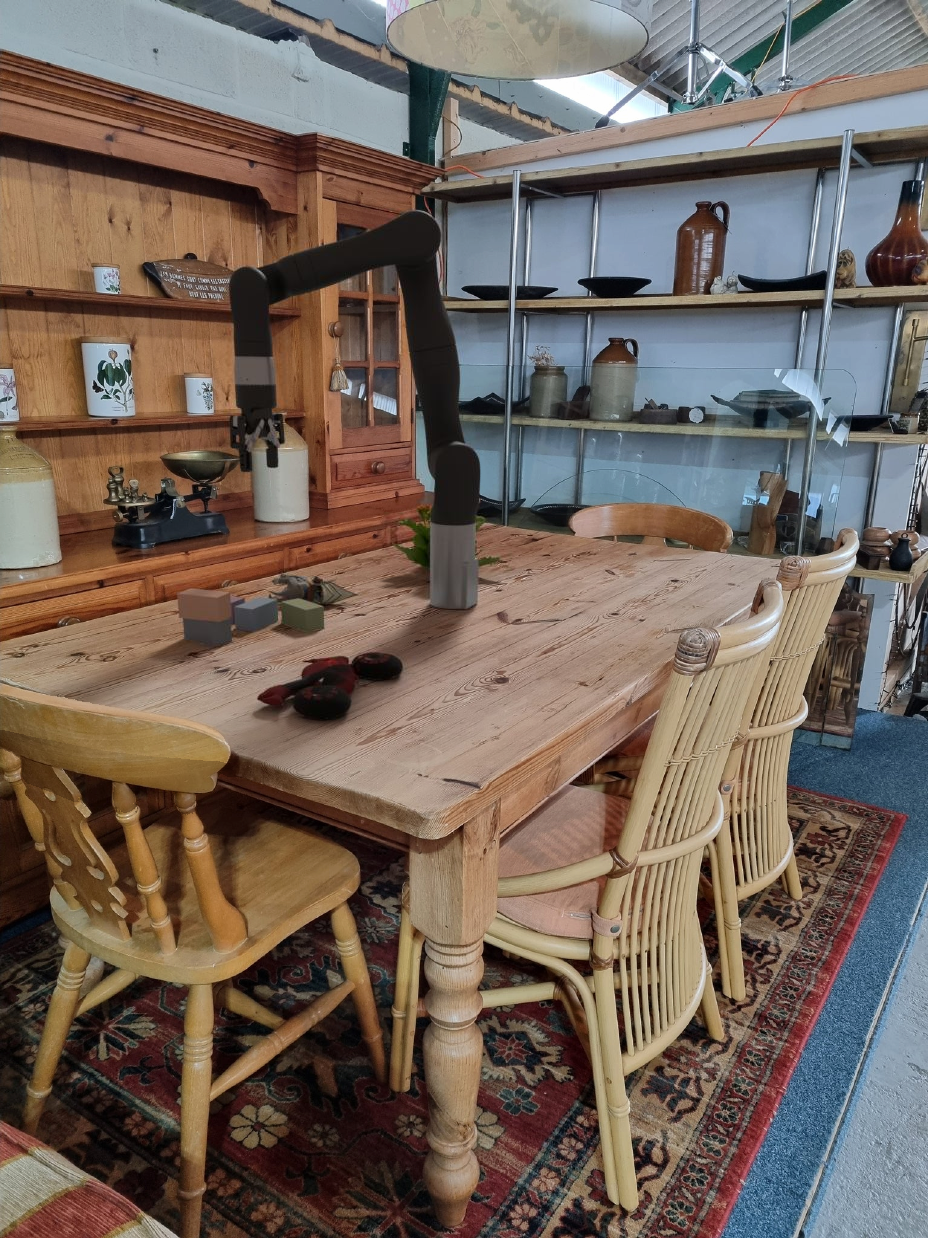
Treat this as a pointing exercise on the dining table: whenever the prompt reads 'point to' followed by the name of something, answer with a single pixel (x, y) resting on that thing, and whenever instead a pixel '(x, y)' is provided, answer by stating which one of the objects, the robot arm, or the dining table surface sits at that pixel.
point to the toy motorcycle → (331, 683)
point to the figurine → (310, 589)
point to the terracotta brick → (204, 605)
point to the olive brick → (302, 615)
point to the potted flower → (422, 540)
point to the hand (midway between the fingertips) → (260, 469)
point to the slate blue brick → (256, 614)
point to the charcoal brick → (208, 631)
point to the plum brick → (235, 602)
